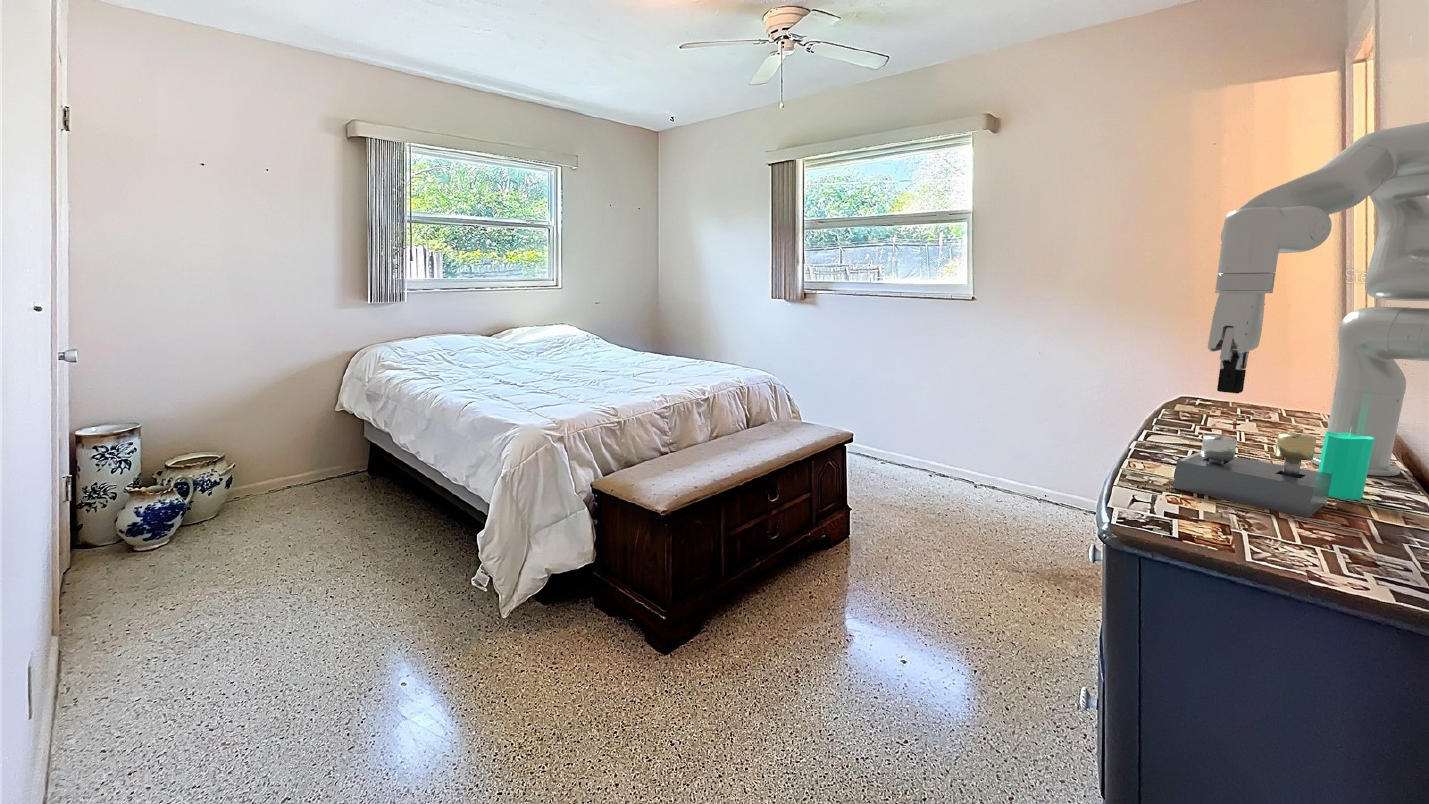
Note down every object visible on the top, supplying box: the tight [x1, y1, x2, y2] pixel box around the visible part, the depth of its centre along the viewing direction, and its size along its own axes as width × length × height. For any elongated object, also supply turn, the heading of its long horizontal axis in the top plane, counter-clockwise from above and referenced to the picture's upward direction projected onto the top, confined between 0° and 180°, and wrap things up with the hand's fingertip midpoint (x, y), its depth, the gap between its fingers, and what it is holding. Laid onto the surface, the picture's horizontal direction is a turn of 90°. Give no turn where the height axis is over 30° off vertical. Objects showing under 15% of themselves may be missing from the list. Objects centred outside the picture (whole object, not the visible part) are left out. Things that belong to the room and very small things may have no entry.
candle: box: [1318, 427, 1375, 501], centre depth 109 cm, size 6×6×12 cm
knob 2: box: [1274, 432, 1317, 478], centre depth 104 cm, size 5×5×8 cm
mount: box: [1172, 450, 1332, 519], centre depth 109 cm, size 12×18×5 cm, turn 36°
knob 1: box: [1200, 434, 1237, 464], centre depth 112 cm, size 5×5×8 cm
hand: (1229, 391), depth 110 cm, fingers closed
